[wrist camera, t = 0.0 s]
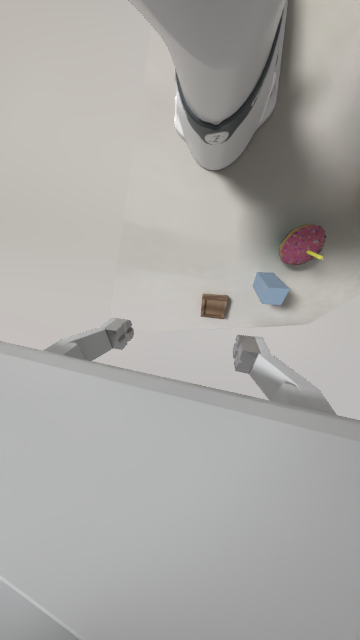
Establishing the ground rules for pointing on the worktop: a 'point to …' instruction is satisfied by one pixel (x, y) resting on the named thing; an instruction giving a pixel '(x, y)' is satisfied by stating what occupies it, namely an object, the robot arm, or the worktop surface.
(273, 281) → the slate block
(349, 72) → the worktop surface
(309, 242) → the cupcake
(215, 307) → the walnut base
